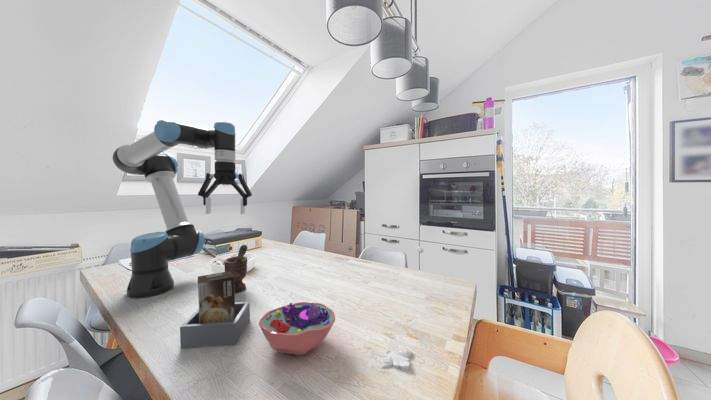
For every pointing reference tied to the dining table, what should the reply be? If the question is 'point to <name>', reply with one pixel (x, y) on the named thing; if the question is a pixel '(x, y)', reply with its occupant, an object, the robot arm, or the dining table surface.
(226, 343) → the open square bin
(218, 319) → the coffee box
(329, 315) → the cell model
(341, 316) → the dining table surface
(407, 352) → the acanthus leaf ornament
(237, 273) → the mortar and pestle
